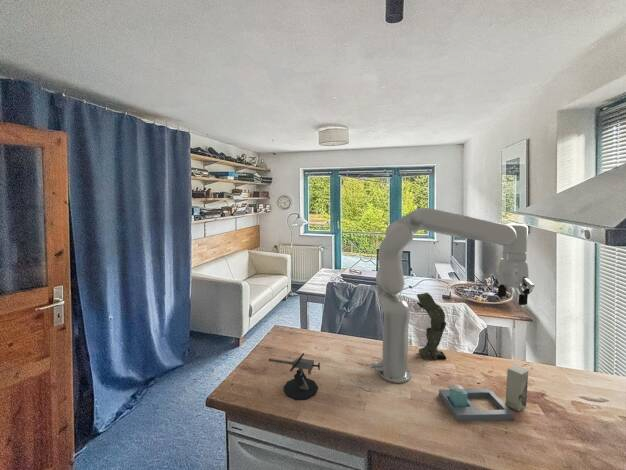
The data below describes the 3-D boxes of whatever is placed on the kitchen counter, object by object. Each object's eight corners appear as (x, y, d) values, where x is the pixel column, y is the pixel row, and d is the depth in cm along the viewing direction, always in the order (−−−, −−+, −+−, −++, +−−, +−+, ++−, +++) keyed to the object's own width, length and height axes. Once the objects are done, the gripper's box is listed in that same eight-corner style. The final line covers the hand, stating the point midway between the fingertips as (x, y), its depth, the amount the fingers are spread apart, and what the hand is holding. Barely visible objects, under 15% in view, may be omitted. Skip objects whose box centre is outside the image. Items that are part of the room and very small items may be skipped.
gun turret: (275, 374, 121) (274, 344, 120) (323, 382, 115) (323, 350, 114) (260, 393, 109) (259, 359, 107) (314, 403, 103) (313, 367, 102)
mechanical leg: (450, 351, 137) (436, 288, 135) (456, 359, 130) (441, 292, 128) (419, 356, 139) (405, 294, 137) (423, 365, 132) (408, 299, 130)
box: (519, 412, 98) (521, 374, 97) (504, 405, 102) (506, 368, 100) (526, 406, 101) (529, 370, 99) (512, 399, 104) (514, 364, 103)
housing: (456, 421, 94) (457, 414, 94) (439, 394, 107) (439, 389, 107) (514, 419, 95) (514, 413, 94) (489, 394, 107) (489, 388, 107)
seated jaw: (454, 411, 99) (455, 391, 98) (449, 403, 103) (449, 383, 102) (466, 411, 99) (467, 390, 98) (460, 403, 103) (461, 383, 102)
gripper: (488, 253, 122) (486, 294, 124) (525, 261, 105) (522, 308, 107) (504, 252, 124) (502, 293, 125) (543, 260, 107) (540, 307, 108)
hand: (511, 300), depth 116 cm, fingers open, 9 cm apart
